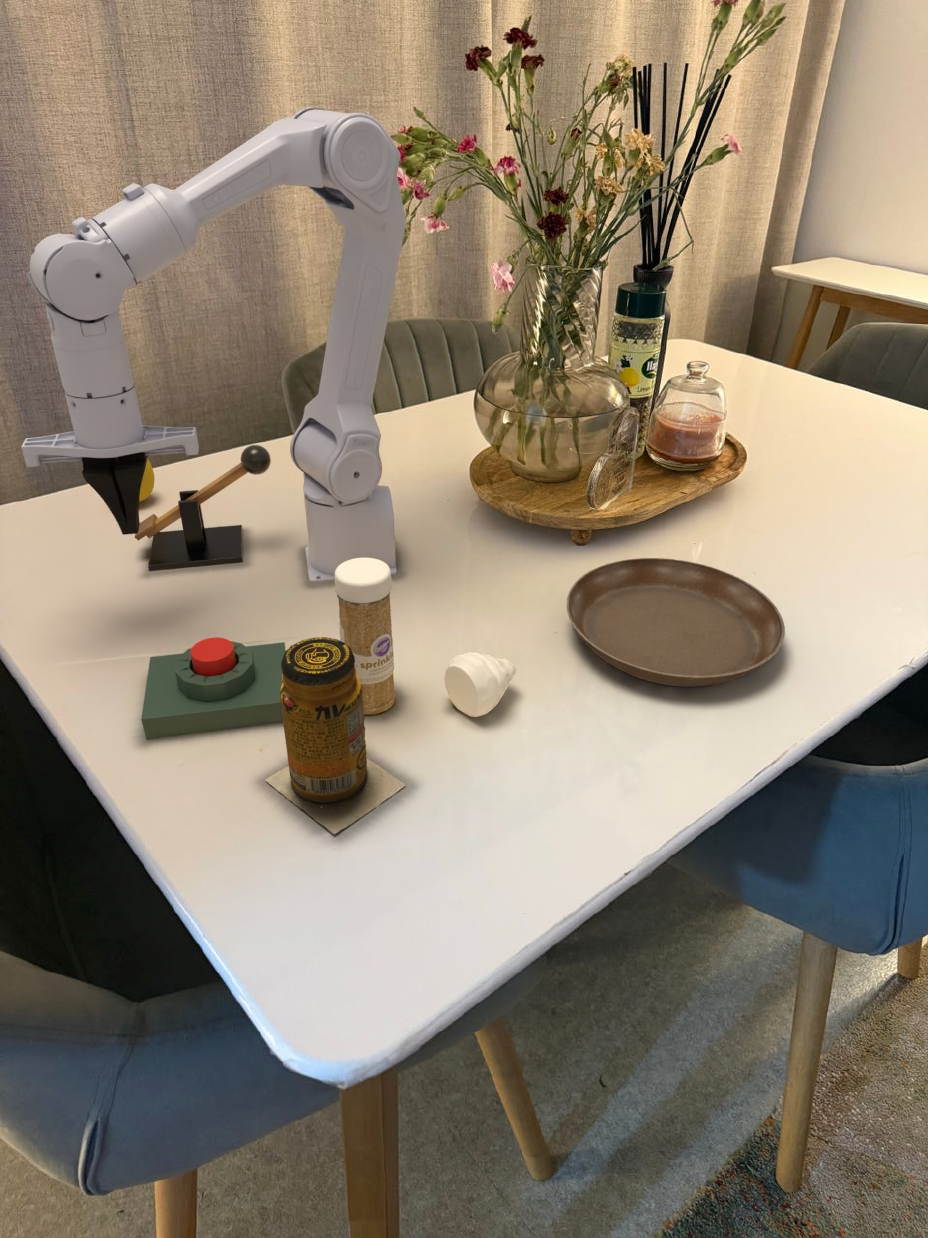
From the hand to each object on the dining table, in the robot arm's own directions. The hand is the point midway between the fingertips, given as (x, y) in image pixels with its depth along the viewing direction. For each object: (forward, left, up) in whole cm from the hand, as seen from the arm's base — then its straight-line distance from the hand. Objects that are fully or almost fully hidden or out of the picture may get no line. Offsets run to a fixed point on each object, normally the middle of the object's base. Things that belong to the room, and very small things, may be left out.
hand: (131, 529), depth 83 cm
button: (-7, +14, -7) cm, 17 cm away
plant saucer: (-50, +13, -11) cm, 53 cm away
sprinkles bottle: (-20, +17, -11) cm, 28 cm away
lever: (-7, -14, -5) cm, 16 cm away
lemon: (+4, -28, -11) cm, 30 cm away
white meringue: (-30, +19, -11) cm, 37 cm away
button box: (-7, +14, -10) cm, 19 cm away
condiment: (-16, +27, -11) cm, 33 cm away
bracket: (-4, -14, -10) cm, 18 cm away
